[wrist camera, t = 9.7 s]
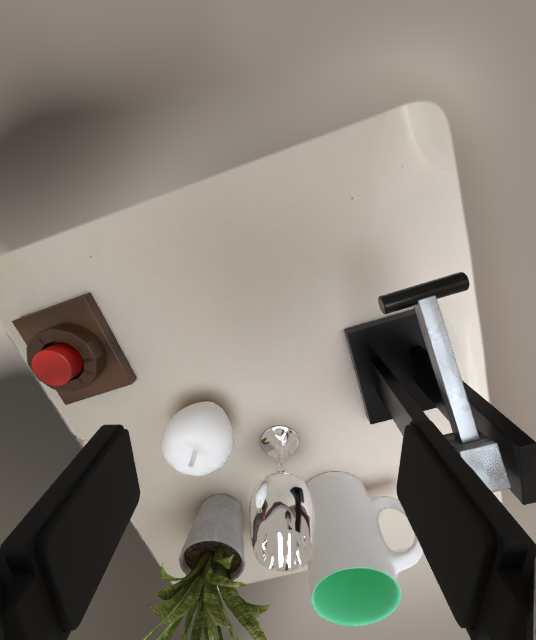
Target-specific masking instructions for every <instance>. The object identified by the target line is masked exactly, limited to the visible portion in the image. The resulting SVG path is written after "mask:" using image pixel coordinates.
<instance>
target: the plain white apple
mask: <svg viewBox="0 0 536 640" xmlns="http://www.w3.org/2000/svg"><path fill="white" fill-rule="evenodd" d="M233 441H234V437H233V430H232V426H231V423H230V421H229V419H228V417H227V415H226V414H225V412H224V410H223V409H222V408H221V407H220V406H218V405H217V404H215V403H213V402H198V403H194V404H192V405H189V406H187V407H185V408H183V409H181V410H180V411H179V412H177V413H176V414H175V415H174V416H173V417H172V418H171V419H170V420H169V422H168V423H167V425H166V427H165V429H164V432H163V437H162V452H163V455H164V457H165V459H166V461H167V462H168V463H169V464H170V465H171V466H172V467H173V468H174V469H175V470H177V471H178V472H180V473H183V474H188V475H193V476H203V475H207V474H209V473H211V472H213V471H215V470H217V469H219V468H220V467H221V466H222V465H223V464H224V463H225V462H226V460H227V459H228V457H229V455H230V452H231V450H232V447H233Z"/></svg>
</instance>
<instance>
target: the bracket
mask: <svg viewBox="0 0 536 640" xmlns="http://www.w3.org/2000/svg"><path fill="white" fill-rule="evenodd" d="M344 331H345V334H346V338H347V342H348V346H349V350H350V353H351V357H352V361H353V365H354V369H355V372H356V376H357V380H358V384H359V388H360V391H361V395H362V399H363V403H364V407H365V410H366V414H367V418H368V420H369V422H370V424H374V423H378V422H382V421H386V420H390V419H393V420H394V422H395V423H396V425H397V427H398V428H399V430H400V432H401V433H402V435H403V436H404V429H405V426H406V425H409V424H410V422H411V421H412V420H429V418H428V417H427V416H426V415H425V413H424V412H423V411H425V410H429V409H433V408H438V409H439V410H440V411H441V413H442V414H443V415H444V416H445V417H446V418H447V419H448V420H449V418H448V415H447V411H446V408H445V405H444V402H443V399H442V395H441V392H440V389H439V386H438V382H437V379H436V376H435V373H434V370H433V366H432V363H431V360H430V357H429V353H428V350H427V347H426V344H425V341H424V337H423V334H422V331H421V328H420V324H419V321H418V318H417V315H416V312H415V309H413V310H410V311H406V312H403V313H399V314H396V315H393V316H389V317H386V318H382V319H379V320H376V321H372V322H369V323H365V324H362V325H359V326H355V327H352V328H348V329H345V330H344ZM462 383H463V386H464V389H465V392H466V395H467V399H468V402H469V405H470V408H471V411H472V415H473V418H474V421H475V424H476V427H477V430H478V431H480V432H482V433H483V434H485V435H486V436H488V437H489V438H491V439H492V440H494V441H495V442H497V444H498V447H499V450H500V453H501V457H502V460H503V463H504V466H505V469H506V473H507V476H508V479H509V482H510V485H511V488H509V489H510V490H511V491H512V493H513V494H514V495H515V496H516V497H517V498H518V499H519V500H520V502H521V503H522V504H523V505H526V504H531V503H535V502H536V442H535V441H534V440H533V439H531V438H530V437H529V436H528V435H527V434H526V433H524V432H523V431H522V430H521V429H520V428H518V427H517V426H516V425H515V424H514V423H512V422H511V421H510V420H509V419H508V418H506V417H505V416H504V415H503V414H502V413H500V412H499V411H498V410H497V409H496V408H494V407H493V406H492V405H491V404H490V403H489V402H487V401H486V400H485V399H484V398H483V397H481V396H480V395H479V394H478V393H477V392H475V391H474V390H473V389H472V388H471V387H469V386H468V385H467V384H466V383H465V382H463V381H462ZM449 422H450V421H449Z"/></svg>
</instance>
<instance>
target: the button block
mask: <svg viewBox="0 0 536 640" xmlns="http://www.w3.org/2000/svg"><path fill="white" fill-rule="evenodd" d="M12 322H13V324H14V326H15V327H16V329H17V330H18V332H19V333H20V335H21V336H22V338H23V340H24V341H25V343H26V344H27V361H28V365H29V367H30V368H31V370H32V371H33V369H32V359H33V357H34V356H35V355H36V354H37V353H38V352H40V351H42V350H43V349H45V348H47V347H49V346H51V345H53V344H56V343H64V344H67V345H70V346H72V347H73V348H75V349H76V350H77V351H78V352H79V354H80V355H81V357H82V361H83V366H82V369H81V371H80V372H79V373H78V374H77V375H76V376H75V377H73V378H72V379H71V380H70V381H68V382H67V383H65V384H63V385H59V386H53V385H49V384H46V383H44V382H43V383H44V384H46V385H48V386H49V387H51V388H52V389H54V390H56V391H57V392H58V394H59V395H60V397H61V399H62V400H63V402H64V403H65V405H67V404H70V403H73V402H76V401H80V400H83V399H86V398H89V397H92V396H95V395H99V394H102V393H105V392H108V391H111V390H114V389H118V388H121V387H124V386H127V385H130V384H132V383H133V382H134V381H135V380H136V376H135V374H134V373H133V371H132V369H131V367H130V365H129V363H128V361H127V360H126V358H125V356H124V354H123V352H122V350H121V349H120V347H119V345H118V343H117V341H116V339H115V337H114V336H113V334H112V332H111V330H110V328H109V326H108V325H107V323H106V321H105V319H104V317H103V315H102V313H101V312H100V310H99V308H98V306H97V304H96V302H95V301H94V299H93V297H92V295H91V293H88V294H85V295H82V296H80V297H77V298H74V299H71V300H69V301H66V302H63V303H60V304H58V305H55V306H52V307H49V308H46V309H44V310H41V311H38V312H35V313H33V314H30V315H27V316H24V317H22V318H19V319H16V320H14V321H12ZM33 373H34V372H33ZM34 374H35V373H34ZM35 376H36V375H35ZM36 377H37V376H36ZM37 379H38V380H40V379H39V378H38V377H37ZM40 381H41V380H40ZM41 382H42V381H41Z"/></svg>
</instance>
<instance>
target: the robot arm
mask: <svg viewBox="0 0 536 640" xmlns="http://www.w3.org/2000/svg"><path fill="white" fill-rule="evenodd" d="M397 495H398V499H399V501H400V503H401V505H402V508H403V510H404V512H405V514H406V516H407V518H408V520H409V522H410V525H411V527H412V529H413V531H414V533H415V535H416V537H417V539H418V541H419V544H420V546H421V548H422V550H423V552H424V554H425V556H426V558H427V561H428V562H429V565H430V567H431V569H432V571H433V573H434V575H435V577H436V580H437V582H438V584H439V586H440V588H441V590H442V592H443V594H444V596H445V599H446V601H447V603H448V605H449V607H450V609H451V611H452V613H453V615H454V617H455V620H456V621H457V623H458V624H459V626H460V627H461V628H466V630H467V632H468V634H469V636H470V638H471V640H536V544H535V543H534V542H533V541H532V539H531V538H530V537H529V536H528V535H527V534H526V532H525V531H524V530H523V528H522V527H521V526H520V525H519V524H518V523H517V521H516V520H515V519H514V518H513V517H512V515H511V514H510V513H509V512H508V511H507V510H506V508H505V507H504V506H503V505H502V503H501V502H500V501H499V500H498V499H497V497H496V496H495V495H494V494H493V493H492V491H491V490H490V489H489V488H488V487H487V486H486V484H485V483H484V482H483V481H482V480H481V478H480V477H479V476H478V475H477V474H476V472H475V471H474V470H473V469H472V468H471V467H470V466H469V465H468V464H467V463H466V462H465V461H464V459H463V458H462V457H461V456H460V455H459V453H458V452H457V451H456V450H455V449H454V447H453V446H452V445H451V444H450V443H449V441H448V440H447V439H446V438H445V437H444V435H443V434H442V433H441V432H440V431H439V429H438V428H437V427H436V426H435V425H434V423H433V422H432V421H430V420H412V421H411V422H410V424H409V425H406V426H405V429H404V437H403V444H402V451H401V459H400V466H399V474H398V481H397ZM139 497H140V488H139V483H138V478H137V473H136V467H135V462H134V457H133V452H132V447H131V441H130V436H129V432H128V430H127V429H124V427H123V426H122V425H103V426H102V427H100V429H99V430H98V431H97V432H96V433H95V435H94V436H93V437H92V438H91V439H90V440H89V442H88V443H87V444H86V445H85V446H84V448H83V449H82V450H81V451H80V452H79V454H78V455H77V456H76V457H75V458H74V460H73V461H72V462H71V463H70V464H69V465H68V467H67V468H66V469H65V470H64V471H63V472H62V473H61V475H60V476H59V477H58V478H57V479H56V481H55V482H54V483H53V484H52V485H51V486H50V488H49V489H48V490H47V491H46V493H45V494H44V495H43V496H42V497H41V498H40V499H39V501H38V502H37V503H36V504H35V505H34V507H33V508H32V509H31V510H30V511H29V513H28V514H27V515H26V516H25V517H24V518H23V520H22V521H21V522H20V523H19V524H18V525H17V527H16V528H15V529H14V530H13V531H12V533H11V534H10V535H9V536H8V537H7V539H6V540H5V541H4V542H3V543H2V544H1V548H0V640H67V638H68V636H69V634H70V632H71V630H75V629H76V628H77V627H78V626H79V624H80V623H81V621H82V619H83V617H84V614H85V613H86V610H87V608H88V606H89V604H90V602H91V600H92V598H93V596H94V594H95V592H96V590H97V587H98V585H99V583H100V581H101V579H102V577H103V575H104V573H105V571H106V569H107V567H108V565H109V562H110V560H111V558H112V556H113V554H114V552H115V550H116V548H117V546H118V544H119V542H120V539H121V537H122V535H123V533H124V531H125V529H126V527H127V525H128V523H129V521H130V519H131V516H132V514H133V512H134V510H135V508H136V506H137V504H138V501H139Z"/></svg>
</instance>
